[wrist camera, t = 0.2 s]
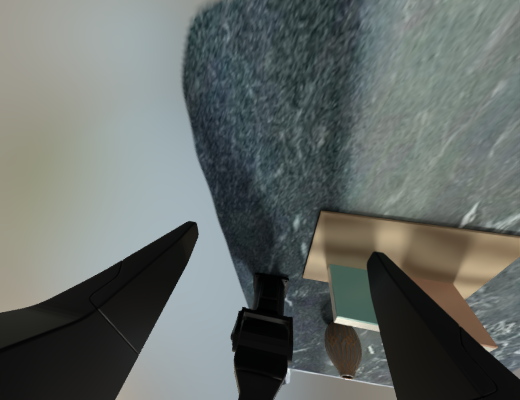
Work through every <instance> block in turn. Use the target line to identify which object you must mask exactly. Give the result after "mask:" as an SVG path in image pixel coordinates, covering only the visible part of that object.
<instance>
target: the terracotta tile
mask: <svg viewBox="0 0 520 400" xmlns="http://www.w3.org/2000/svg"><path fill="white" fill-rule="evenodd" d="M410 278H411V279H412V280H413V281H414V282H415V283H416V284H417V285H418V286H419V287H420V288H421V289H422V290H423V291H425V292H426V293H427V294H428V295H429V296H430V297H431V298H432V299H433V300H434V301H435V302H436V303H437V304H438V305H439V306H440V307H441V308H442V309H443V310H444V311H446V312H447V313H448V314H449V315H450V316H451V317H452V318H453V319H454V320H455V321H456V322H457V323H458V324H459V326H461V327H462V328H463V329H465V330H466V331H467V332H468V333H469V334H470V335H471V336H472V337H473V338H474V339H475V340H476V341H477V342H478V343H479V344H481V345H482V346H483V347H484V348H485V349H486V350H487V351H488V352H490V351H492V350H494V349H496V348H498V347H497V345H496V344H495V342H494V341H493V339H492V338H491V337H490V335H489V334H488V332H487V331H486V330H485V328H484V327H483V325H482V324H481V322H480V321H479V320H478V318H477V317H476V315H475V314H474V313H473V311H472V310H471V308H470V307H469V306H468V304H467V303H466V301H465V300H464V298H463V297H462V296H461V294H460V293H459V291H458V290H457V289H456V287H455V286H454V284H451V283H445V282H438V281H432V280H426V279H420V278H414V277H410Z"/></svg>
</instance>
